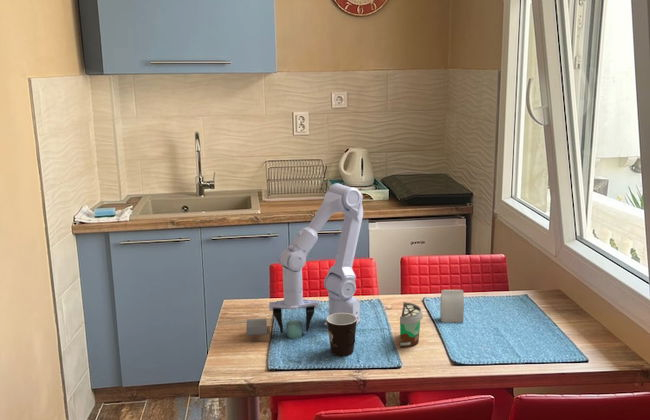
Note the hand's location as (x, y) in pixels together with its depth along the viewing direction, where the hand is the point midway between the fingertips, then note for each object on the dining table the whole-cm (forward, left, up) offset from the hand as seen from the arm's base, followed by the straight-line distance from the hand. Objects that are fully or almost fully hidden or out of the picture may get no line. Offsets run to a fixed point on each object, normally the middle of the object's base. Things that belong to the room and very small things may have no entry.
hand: (294, 330), depth 196 cm
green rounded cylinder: (0, 0, -2) cm, 2 cm away
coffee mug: (-18, +6, -2) cm, 19 cm away
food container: (-34, -9, -2) cm, 35 cm away
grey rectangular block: (-41, -29, -2) cm, 50 cm away
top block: (+10, +5, +1) cm, 11 cm away
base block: (+10, +5, -2) cm, 11 cm away
